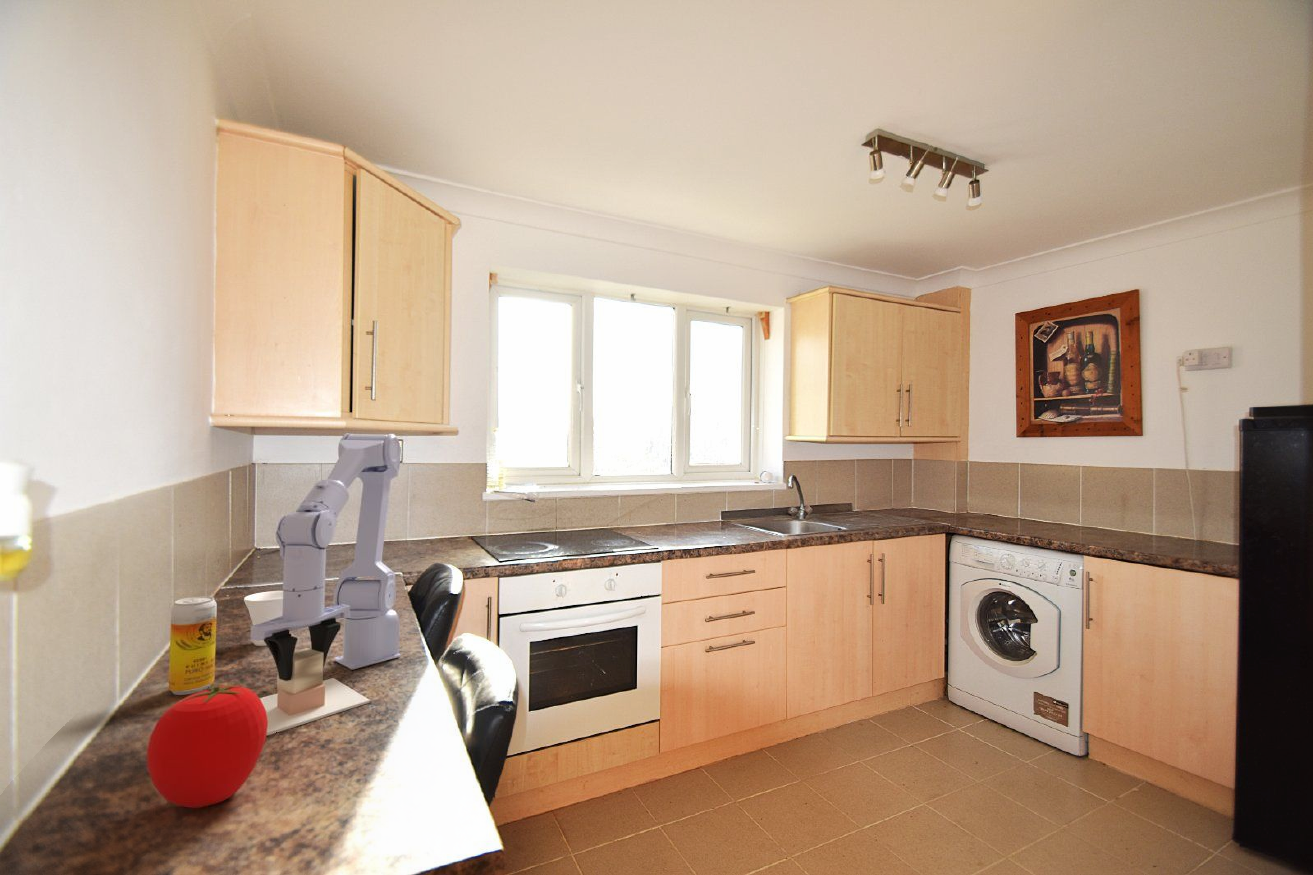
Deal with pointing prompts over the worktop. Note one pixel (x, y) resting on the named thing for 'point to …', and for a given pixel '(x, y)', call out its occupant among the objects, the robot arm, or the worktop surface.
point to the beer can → (192, 645)
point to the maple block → (304, 671)
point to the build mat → (335, 702)
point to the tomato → (207, 745)
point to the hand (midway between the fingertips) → (301, 673)
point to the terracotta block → (301, 700)
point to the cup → (264, 608)
